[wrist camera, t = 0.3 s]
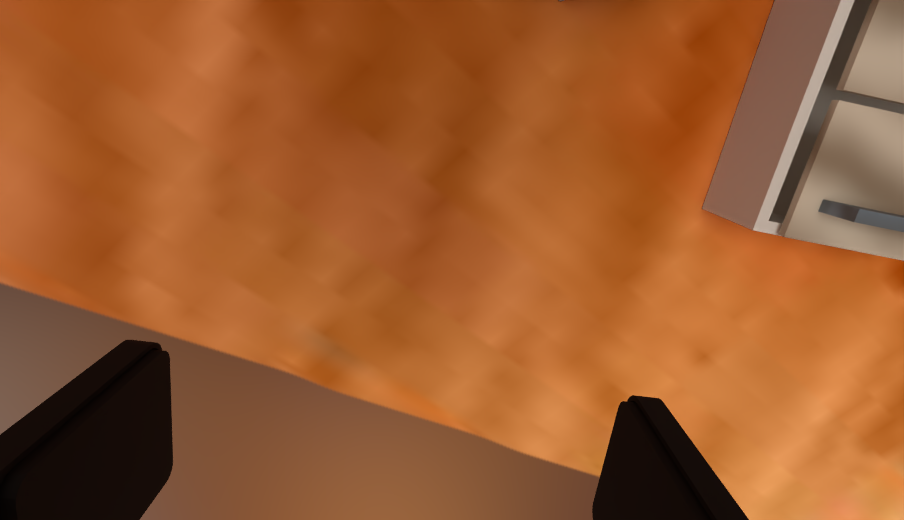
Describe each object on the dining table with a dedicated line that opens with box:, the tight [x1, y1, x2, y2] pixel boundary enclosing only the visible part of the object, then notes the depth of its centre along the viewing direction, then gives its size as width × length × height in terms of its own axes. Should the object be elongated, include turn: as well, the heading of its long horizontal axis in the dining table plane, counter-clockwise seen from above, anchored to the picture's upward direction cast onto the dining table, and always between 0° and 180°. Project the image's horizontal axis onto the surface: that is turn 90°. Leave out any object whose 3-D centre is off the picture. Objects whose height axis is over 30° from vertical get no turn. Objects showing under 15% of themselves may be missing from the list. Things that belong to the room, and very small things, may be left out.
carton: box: [702, 0, 904, 236], centre depth 35 cm, size 18×14×7 cm
